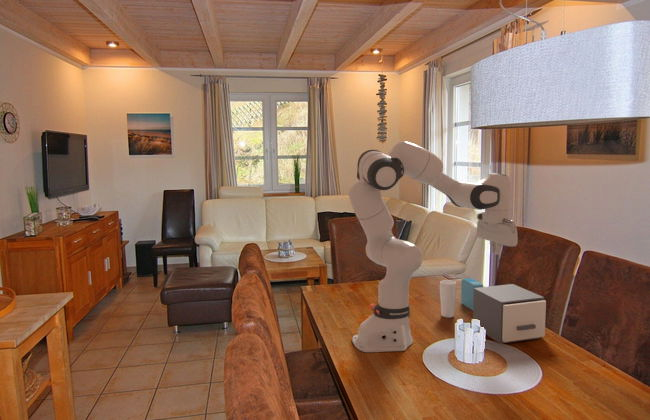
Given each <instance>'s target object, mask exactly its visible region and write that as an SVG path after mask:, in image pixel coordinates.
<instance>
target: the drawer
mask: <svg viewBox="0 0 650 420" xmlns="http://www.w3.org/2000/svg"><path fill="white" fill-rule="evenodd" d="M546 311H547V301H546V300H545V299H544V300H540V301H531V302H523V303H514V304H506V305H503V326H502V341H503V342H509V341H516V340H523V339H530V338H538V337H545V336H546V315H547V314H546V313H547V312H546ZM538 339H539V338H538ZM530 340H531V339H530ZM523 341H524V340H523ZM516 342H517V341H516ZM509 343H510V342H509Z"/></svg>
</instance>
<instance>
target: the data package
mask: <svg viewBox="0 0 650 420" xmlns="http://www.w3.org/2000/svg"><path fill="white" fill-rule="evenodd" d="M460 286H461V288H460V289H461V291H460V296H461V298H460V299H461V301H460V302H461V303H462V305H463V306H465V307H466V308H468V309H469V310H471V311H472V312H473V294H474V288H480V287H485V286H484V284H483V283H481V282H480V281H478V280H476V279H474V278H472V277H471V278H462V279H461V285H460Z"/></svg>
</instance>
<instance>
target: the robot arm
mask: <svg viewBox="0 0 650 420" xmlns="http://www.w3.org/2000/svg"><path fill="white" fill-rule="evenodd" d="M443 171H444V163H443V161H442V159H440V157H438V156H437V155H436V154H434V153H433V152H431V151H430V150H428V149H426V148H425V147H422V146H420V145H417V144H415V143H412V142H409V141H406V140H405V141H404V140H402V141H398V142H397V143H396V144H395V145H394V146H393V147H392V149H391V150H390V151H389V152H388V153H386V154H385V153H383V152H382V151H380V150H377V149H369V150H366V151H364V152H362V153H361V154H360V156H359V157H358V161H357V172H356V178H357V179H358V182H356V183H355V184H353V185H352V186H351V187H350V189H349V191H348V196H349V199H350V200H349V201H350V204H351V207H352V210H353V212H354V214H355V216H356V218H357V220H358V222H359V224H360V225H361V227H362V229H363V232H364V234H365V236H366V240H367V242H366V245H365V254H366V256H367V257H368V259H369V260H371V261H372V262H373V263H375V264H377V265H378V266H382V267H385V268H386V271H385V276H384V278H383V279H381V280H380V281H379V283H378V284H377V285H378V286H377V289H378V291H377V294H378V295H377V297H378V300H377V301H378V302H377V303H376V305H375V304H374V303H370V304H369V306H368V307H369V309H370V310H371V311H373V314H371V315H370V316H369V317H368V318H367V319H365V320H364V321H363V322H361V324H360V325H359V327H358V333H357V334H354V335H353V337H352V341H351V342H352V344H353V345H354V347H355V348H356V349H358V351H361V352H364V353H379V352H402V351H403V352H405V351H406V350H407V349H408V347H409V346H411V345H412V344H413V343H414V339H413V336H412V332H411V327H410V316H411V309H410V303H409V292H410V281H411V279H412V276H413V274H414V273H415V272H416V271H418V270H419V268H420V267H421V266H422V264H423V259H424V254H423V251H422V250H421V248H420V247H419V246H418V245H416V244H415V243H412V242H411V241H408V240H403V239H398V238H396V236H394V234H393V231H392V229H393V227H394V224H395V221H394V218H393V216H392V214H391V212H390V210H389V208H388V206H387V204H386V202H385V200H384V198H383V196H382V191H388V190H390V189H392V188H393V187H395V186H396V185H397V184H398V182H399V180H401V178H403V176H406V177H408V178H409V179H412V180H414V181H416V182H417V183H420V184H422V185H423V184H424V185H426V186H431V187H432V188H435V190H438V191H439V192H440V193H442V194H443V195H445V196H446V197H447V198H448V199H449V201H450V202H451V203H452V204H453V206H455V207H458V208H465V209H471V210H480V211H481V210H484V211H482V212H479V213H477V214H476V219H477V223H476V235H477V237H478V238H479V239H483V240H485V241H489V245H490V248H491V254H493V255H496V256H498V255H501V250H502V248H503V246H506V247H516V246H518V243H519V242H518V241H519V240H518V229H517V228H518V227H517V225H516V222H514V221H513V220H512V219H511V206H510V203H511V202H510V201H511V198H512V185H511V179H510V177H509V176H508V175H507V174H503V173H496V172H490V173H487V175H486V176H485V177H484V178H482V179H481V180H479V181H476V182H474V181H473V182H470V181H465V180H456V179H454V178H452V177H450V176H449V175H447V174H445V173H444V172H443Z"/></svg>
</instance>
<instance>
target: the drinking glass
mask: <svg viewBox="0 0 650 420" xmlns="http://www.w3.org/2000/svg"><path fill="white" fill-rule="evenodd" d="M439 297H440V298H439V299H440V311H441V312H440V313H441V314H440V315H441V317H443V318H448V319H449V318H453V317H455V308H456V300H457V299H456V298H457V282H456V281H455V280H452V279H443V280H440V281H439Z"/></svg>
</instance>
